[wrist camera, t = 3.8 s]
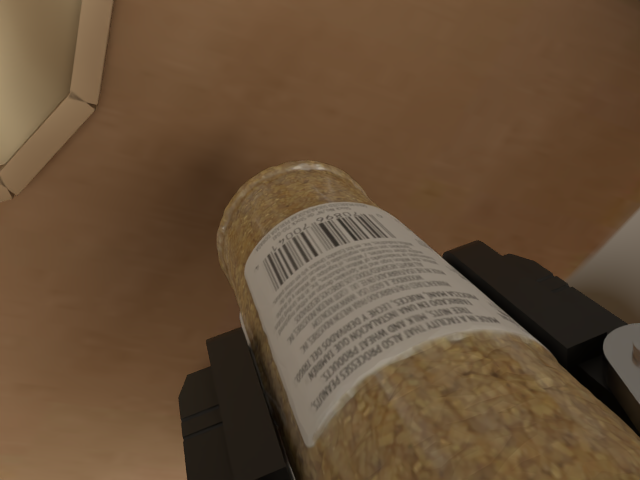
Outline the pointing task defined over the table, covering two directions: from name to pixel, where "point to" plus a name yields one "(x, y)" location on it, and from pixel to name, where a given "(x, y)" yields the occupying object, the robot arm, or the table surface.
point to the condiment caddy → (46, 80)
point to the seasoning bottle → (396, 349)
